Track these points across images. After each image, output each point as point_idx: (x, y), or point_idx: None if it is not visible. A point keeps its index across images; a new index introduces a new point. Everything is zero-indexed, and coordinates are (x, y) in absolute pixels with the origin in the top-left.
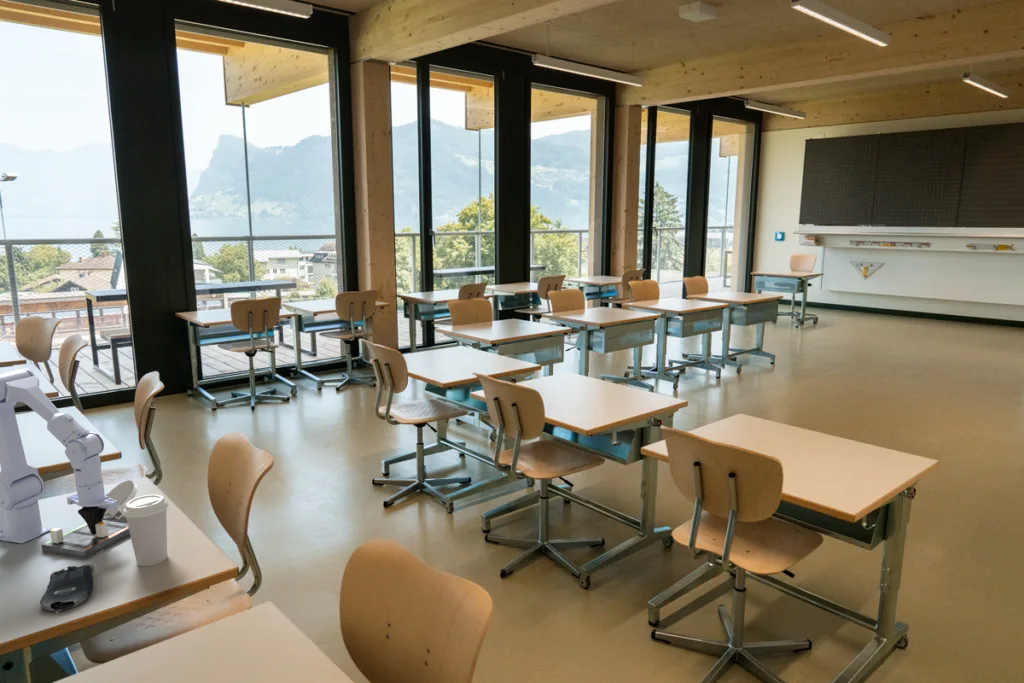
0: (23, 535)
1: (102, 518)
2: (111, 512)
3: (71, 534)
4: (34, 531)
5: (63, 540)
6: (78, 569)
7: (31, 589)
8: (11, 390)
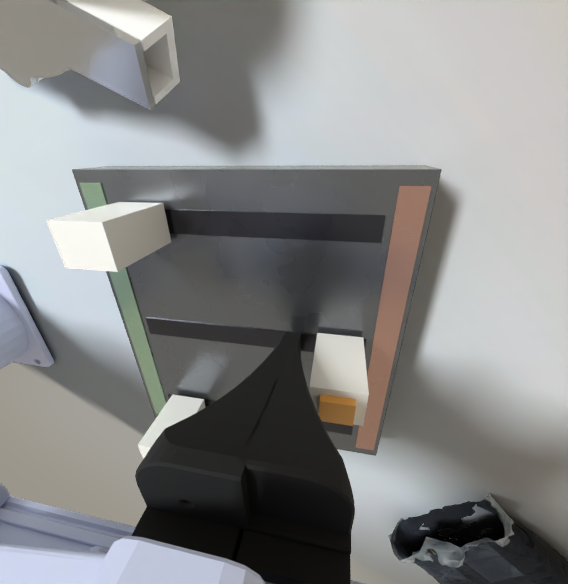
0: (14, 358)
1: (308, 390)
2: (78, 65)
3: (168, 346)
4: (6, 334)
5: (203, 400)
6: (476, 550)
7: (357, 531)
8: None
